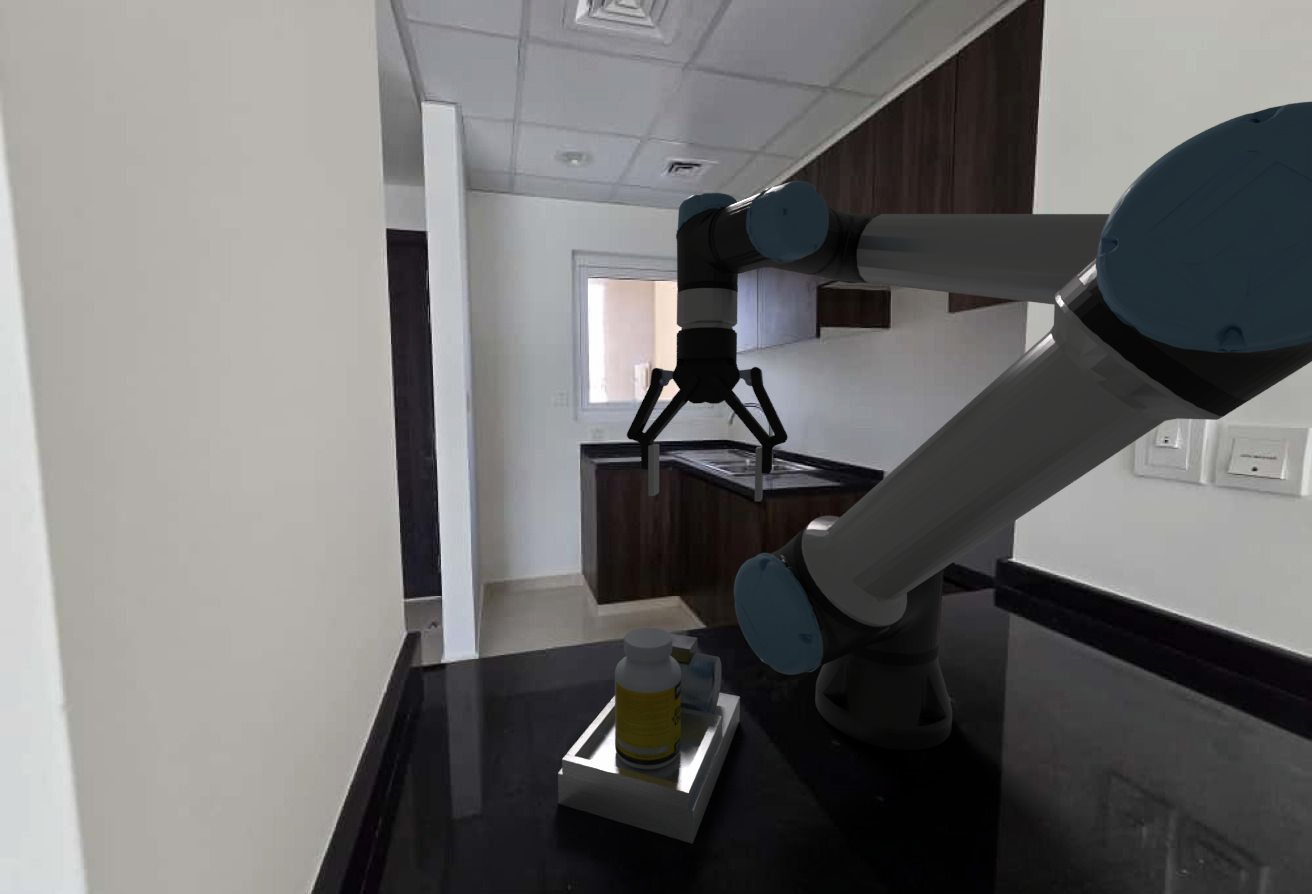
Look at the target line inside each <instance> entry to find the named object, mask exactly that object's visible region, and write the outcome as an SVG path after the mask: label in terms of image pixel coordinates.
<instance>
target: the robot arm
mask: <svg viewBox="0 0 1312 894" xmlns="http://www.w3.org/2000/svg"><path fill="white" fill-rule="evenodd" d="M678 208H679V209H678V213H677V214H678V216H677V217H678V218H677V229H676V234H675V239H676V269H677V270H676V273H677V274H676V287H677V294H676V297H677V298H676V325H677V326H678V327H679V328H680V330H678V332H677V333H676V363H675V364H676V365H675V368H674V369H673V370H668V369H663V368H660V367H659V368H658V367H654V368H653V369H651V372H650V373H651V375H650V382H649V387H648V388H647V391H646V392H645V395H644V397H643V399H642V401H641V403H640V405H639V408H638V410H637V412H636V414H635V416H634V418H633V420H632V421H631V424H630V426H629V429H628V431H627V433H626V437H627V439H628V440H631V441H632V440H633V441H634V442H637V443H638V444H639V445H640V465H641V468H642V470H648V471H647V474H648V475H647V476H648V478H647V483H648V484H647V485H648V487H647V489H648V492H647V493H648V494H647V495H648V497H655V496H657V495H658V494H659V493H660V444H659V443H655V440H656V439H657V437H659V436H660V435H661V433H662V432H663V430H665V428H667V426H668V425H669V423H670V422H671V421H672V420H673V419H674V417H675V416H676V415H677V414H678V413H679V411H680V410H681V409H682V408H683V407H684V406H685V405H686V404H687V403H688V402H690V403H692V404H694V405H695V404H703V403H707V404H711V405H712V404H713V405H714V404H715V405H717V404H721V403H723V402H725V404H726V405H728V407H730V409H731V410H732V411H733V412H734V413H735V415H736V416H737V417H738V418H739V420H740V421H741V422H742V423H743V424H744V425H745V427H746V428H747V429H748V431H749V432H750V433H751V434H752V435H753V437H755V439H756V440H757V442H758V443H759V444H760V445H761V446H757V447H756V448H755V458H754V459H755V460H754V461H755V464H754V465H755V466H754V467H755V468H754V502H762V500H763V489H764V488H763V485H764V484H763V483H764V475H770V474H771V472H772V470H773V450H774V449H773V448H774V447H775V446H778V445H782V444H785V443H786V442H787V441H788V437H789V436H788V434H787V432H786V429H785V428H784V425H783V423H782V421H781V419H780V417H779V415H778V413H777V410H776V409H775V407H774V404H773V403H772V400H771V398H770V396H769V394H768V393H767V390H766V388H765V386H764V380H763V379H764V378H763V377H764V376H763V371H762V369H761V367H758V366H753V367H752V368H748V369H739V367H738V364H737V360H738V358H737V357H738V354H737V353H738V332H737V331H736V330H735V329H734V327H735V326H736V325H738V296H739V295H738V291H739V290H738V289H739V284H738V283H739V281H738V280H739V274H743V273H747V272H751V271H755V270H759V269H763V268H772V269H776V270H777V269H778V270H782V271H788V272H793V273H799V274H802V275H811V276H815V277H821V278H826V279H830V280H833V281H834V280H835V281H837V282H841V283H846V284H875V285H883V286H890V287H891V286H892V287H899V288H901V287H902V288H910V289H919V290H925V291H935V292H945V293H951V294H960V295H961V294H962V295H967V296H968V295H970V296H976V297H977V296H978V297H986V298H994V299H1003V300H1012V301H1021V302H1027V303H1028V302H1031V303H1038V304H1045V305H1046V304H1047V305H1054V308H1053V309H1054V310H1053V325H1052V327H1051V329H1050V331H1048V332H1047V333H1046V334H1045V335H1044V336H1042V338H1041V339H1039V340H1038V341H1037V342H1036V343H1035V344H1034V345H1032V347H1030V348H1029V349H1028V350H1027V351H1025V353H1024V354H1022V355H1021V356H1020V357H1019V358H1018V359H1017V360H1016V361H1015V362H1013V363H1012V364H1011V365H1010V366H1009V367H1007V369H1006V370H1005V371H1003V372H1002V373H1001V374H1000V375H999V376H998V377H996V378H995V379H994V380H993V381H992V382H991V383H990V384H989V385H988V386H986V387H985V388H984V389H983V390H982V391H981V392H980V393H979V394H977V395H976V396H975V397H974V398H973V399H972V400H970V402H968V403H966V405H964V407H963V408H962V409H960V410H959V411H958V412H957V413H956V414H954V416H953V417H951V419H949V420H948V421H947V422H946V423H945V424H943V426H941V427H940V428H939V429H938V430H937V431H936V432H935V433H933V434H932V436H930V437H929V438H928V439H927V440H925V442H924V443H922V444H921V445H920V446H918V447H917V449H916V450H914V451H913V452H912V453H910V455H909V456H908V457H906V458H905V459H904V460H903V461H902V462H901V463H900V464H898V465H897V466H896V467H895V468H894V469H893V470H892V471H890V473H888V474H887V475H886V476H885V477H884V478H883V479H881V480H880V482H878V483H877V484H876V485H875V486H874V487H872V489H870V490H869V492H867V493H866V494H865V495H864V496H863V497H861V498H860V499H859V500H858V501H857V502H856V503H855V504H853V506H851V507H850V508H849V509H848V510H847V511H845V513H843V515H841V516H835V515H823V516H818V517H817V518H815V519H814V520H812V521H810V522H809V523H808V524H807V525H806V526H805V527H804V528H803V529H802V530H800V531H799V532H798V533H797V534H796V535H794V536H793V538H791V539H790V540H789V541H788V542H787V543H786V544H785V545H784V546H782V547H781V548H779V549H777V550H776V551H773V552H771V553H769V552H762V553H758V554H757V555H756V556H754V557H751V558H749V559H747V560H746V561H744V563H742V564H741V566H740V567H739V568H738V569H739V570H738V571H737V574H736V576H735V579H734V586H733V597H734V609H735V610H734V611H735V614H736V615H735V616H736V618H737V622H738V625H739V628H740V629H741V632H742V634H743V636H744V638H745V640H746V641H747V643H748V645H749V647H750V648H751V650H752V651H753V652H754V653H755V655H756V657H758V658H759V659H760V660H761V662H762V663H764V664H765V665H769V667H771V669H772V670H774V671H776V672H778V673H781V674H784V675H790V676H791V675H793V676H794V675H799V674H802V673H813V672H814V671H816V670H817V669H819V667H821V669H820V671H819V673H818V676H817V679H816V683H815V699H814V700H815V702H814V703H815V706H816V709H817V711H818V712H819V715H821V717H822V718H823V719H824V721H826V722H827V723H829V724H830V725H831V726H832V727H833V728H835V729H836V730H838V731H839V732H841V733H843V734H845V735H847V736H849V738H853V739H855V740H858V741H860V742H863V743H865V744H868V745H873V746H876V747H880V748H884V749H885V748H886V749H891V750H899V751H919V750H925V749H931V748H934V747H937V746H939V745H941V744H943V743H944V742H946V741H947V740H948V739H949V737H950V735H951V732H952V727H953V726H952V723H953V709H952V708H953V707H952V703H951V700H950V695H949V694H948V693H949V692H948V690H947V687H946V682H945V679H944V676H943V673H942V669H941V666H940V662H939V646H940V645H939V643H940V633H941V632H940V631H941V630H940V629H941V618H942V617H941V616H942V615H941V614H942V600H943V586H944V570H946V567H948V566H949V565H951V564H952V563H954V562H955V561H957V560H959V559H960V558H961V557H963V556H964V555H966V554H967V553H969V552H970V551H972V550H974V549H975V548H977V547H978V546H980V545H981V544H982V543H984V542H986V541H987V540H988V539H990V538H991V537H992V536H995V535H996V534H997V533H999V532H1000V531H1002V530H1003V529H1005V528H1006V527H1008V526H1010V525H1011V524H1013V523H1014V522H1016V521H1017V520H1019V519H1020V518H1022V517H1023V516H1024V515H1026V514H1028V513H1029V512H1031V511H1032V510H1034V509H1035V508H1036V507H1038V506H1039V505H1041V504H1042V503H1044V502H1046V501H1047V500H1049V499H1050V498H1052V497H1053V496H1054V495H1056V494H1057V493H1059V492H1060V491H1062V490H1064V489H1065V488H1067V487H1068V486H1070V485H1071V484H1073V483H1074V482H1075V481H1077V480H1079V479H1080V478H1082V477H1083V476H1085V475H1086V474H1088V473H1089V472H1091V471H1092V470H1093V469H1096V467H1098V466H1100V465H1101V464H1102V463H1103V464H1104V462H1106V461H1107V460H1109V459H1110V458H1111V457H1113V456H1114V455H1116V454H1118V453H1119V452H1121V451H1122V450H1124V449H1125V448H1126V447H1128V446H1130V445H1131V444H1132V443H1135V442H1136V441H1137V440H1139V439H1141V438H1142V437H1143V436H1145V435H1147V434H1148V433H1149V432H1151V431H1153V430H1154V429H1155V428H1157V427H1158V426H1160V425H1161V424H1163V423H1164V422H1167V421H1172V420H1209V421H1210V420H1211V421H1212V420H1214V421H1215V420H1220V419H1222V418H1224V417H1225V416H1226V415H1228V414H1230V413H1231V412H1233V411H1234V410H1236V409H1237V408H1239V407H1241V406H1243V405H1244V404H1246V403H1248V402H1249V401H1251V400H1252V399H1254V398H1255V397H1257V396H1259V395H1260V394H1262V393H1264V392H1265V391H1267V390H1269V389H1271V388H1272V387H1273V386H1275V385H1277V384H1278V383H1279V382H1282V381H1283V380H1285V379H1286V378H1288V377H1290V376H1292V374H1294V373H1296V372H1298V371H1299V370H1301V369H1303V368H1304V367H1305V366H1307V365H1308V364H1310V363H1312V101H1301V102H1294V103H1288V104H1282V105H1279V106H1273V107H1268V108H1265V109H1261V110H1259V111H1254V112H1250V113H1245V114H1242V115H1239V116H1237V117H1233V118H1231V119H1228V120H1226V121H1222V122H1221V123H1219V124H1215V125H1214V126H1212V127H1210V128H1207V129H1205V130H1203V131H1202V132H1200V133H1198V134H1195V135H1193V136H1192V137H1190V138H1188V139H1187V140H1185V141H1183V142H1181V143H1180V144H1178V145H1177V146H1175V147H1173V148H1172V149H1170V150H1169V151H1167V152H1166V153H1164V155H1162V156H1161V157H1160V158H1159V159H1157V160H1156V161H1154V162H1153V163H1152V164H1151V165H1150V166H1149V167H1148V168H1146V169H1145V170H1144V171H1143V172H1142V173H1141V174H1140V175H1139V176H1137V178H1136V179H1135V180H1134V181H1133V182H1132V183H1131V184H1130V185H1129V186H1128V188H1127V189H1126V190H1125V191H1124V192H1123V194H1122V195H1121V196H1120V198H1119V199H1118V200H1117V202H1116V203H1115V205H1114V206H1113V208H1112V210H1111V211H1110V213H880V214H879V213H850V212H844V211H839V210H836V209H832V208H830V207H828V206H827V203H826V200H825V199H824V197H823V195H822V194H821V193H818V191H816V187H815V186H814V184H812V183H810V182H808V181H804V180H793V181H789V182H785V183H783V184H777V185H774V186H773V187H768V188H765V190H764V189H763V190H762V191H761V192H758V193H756V194H753V195H751V196H749V197H746V198H744V199H742V200H740V201H737V199H736V198H735V197H734V196H732V195H729V194H727V193H722V192H703V193H701V194H693V195H691V196H688V197H687V198H685V199H684V200H683V201H682V202H681V204H680V206H679V207H678ZM741 379H742V380H744V382H745V385H747V386H748V387H751V388H752V391H753V393H754V396H755V397H756V400H757V401H758V403H759V406H760V408H761V410H762V413H764V414H763V415H764V416H765V417H766V420H767V423H768V424H769V427H770V428H771V431H772V432H773V435H769V434H768V432H767V431H766V430H765V429H764V427H763V426H762V425H761V424H760V423H759V421H758V420H757V419H756V418H755V416H754V415H752V413H751V412H750V410H748V408H747V407H746V406H745V405H744V403H743V401H741V400H740V398H739V397H738V395H736V393H735V392H734V391H733V390H734V388H735V387H736V386H737V384H738V383H739V381H741ZM671 380H673V382H674V383H675V384H676V386H677V387H678V389H679V390H678V391H677V392H676V393H675V395H674V396H673V397H672V399H670V402H669V403H668V405H667V406H665V408H664V409H663V410H662V412H660V414H659V415H658V416H657V417H656V419H655V420H654V421H653V422H652V423H651V424H650V426H648V428H647V429H646V431H645V432H643V431H644V430H645V427H646V426H647V423H648V421H649V419H650V417H651V415H652V413H653V411H654V409H655V407H656V405H657V403H658V400H659V399H660V397H661V394H662V393H663V390H664V387H666V386H668V385H669V383H670V381H671Z"/></svg>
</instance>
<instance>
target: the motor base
mask: <svg viewBox="0 0 1312 894" xmlns="http://www.w3.org/2000/svg"><path fill="white" fill-rule="evenodd" d="M670 634H671V636H672V653H671V655H670V656H672V657H673V658H674V659H675V660H676V661H677V662H678V664H679V666H680V669H681V745H680V751H679V754H678V755H677V757H676V758H675V759H674V760H673V761H672V762H671V763H670V764H668V765H666V766H664V767H661V768H657V769H649V770H648V769H638V768H634V767H632V766H629V765H627V764H626V763H624V762H623V761H622V760H621V759H620V758H619V756H618V755H617V753H616V749H615V695H614V696H613V697H612V698H611V700H610V701H609V702H608V703H607V704H606V705H605V707H604V708H603V709H602V711H600V713H599V714H598V715H597V717H596V718H595V719H594V720H593V721H592V723H591V724H589V726H587V728H586V729H585V731H584V732H583V733H582V734H581V736H580V737H579V738H578V740H577V741H575V743H574V744H573V745H572V747H571V748H570V749H569V750H568V751H567V753H566V754H565V755H564V756H563V758H562V759H561V769H560V770H559V771H558V773H557V787H558V788H557V789H558V790H557V793H558V794H557V795H558V796H557V797H558V799H557V802H558V805H562V806H564V807H565V806H566V807H568V808H572V809H574V810H575V809H576V810H578V811H583V812H585V813H589V814H591V815H595V816H598V817H601V818H605V819H609V820H613V821H615V822H618V823H623V824H626V825H629V826H632V827H635V828H638V829H642V830H646V831H648V832H652V833H655V834H657V835H658V834H659V835H663V836H666V837H667V838H673V839H676V840H679V841H681V842H686V843H689V844H694V842H695V839H696V836H697V833H698V831H699V828H700V825H701V824H702V821H703V818H704V815H705V812H706V810H707V808H708V805H709V802H710V798H711V797H712V794H713V791H714V789H715V786H716V785H717V784H716V783H717V781H718V778H719V775H720V773H721V771H722V768H723V765H724V762H725V760H726V758H727V757H726V756H727V754H728V753H729V749H730V747H731V744H732V741H733V739H734V737H735V733H736V731H737V729H738V725H739V723H740V713H741V712H740V707H741V705H740V704H741V703H740V702H741V697H740V696H738V695H734V694H728V693H723V692H720V691H721V686H722V662H721V659H720V657H719V656H717V655H716V656H714V655H710V654H704V653H700V652H699V653H698V637H693V636H687V635H681V634H676V633H670Z"/></svg>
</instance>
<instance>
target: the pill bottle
mask: <svg viewBox="0 0 1312 894" xmlns="http://www.w3.org/2000/svg"><path fill="white" fill-rule="evenodd" d="M671 634H672V633H670V632H668V631H666V630H665V629H662V628H658V627H639V628H634V629H632V630H629V631H628V632H627V633H625V635H624V638H623V653H624V655H625V656H624V657H623V658H622V659H621V660H620V661H619V662H617V665H616V667H615V670H614V696H615V749H616V753H617V755H618V756H619V758H620V759H621V760H622V761H623V762H624V763H626V764H627V765H629V766H632V767H634V768H638V769H648V770H649V769H657V768H661V767H664V766H666V765H668V764H670V763H671V762H672V761H673V760H674V759H675V758H676V757H677V755H678V754H679V751H680V745H681V669H680V666H679V664H678V662H677V661H676V660H675V659H674V658H673V657H672V656H670V655H671V653H672V636H671Z"/></svg>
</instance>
